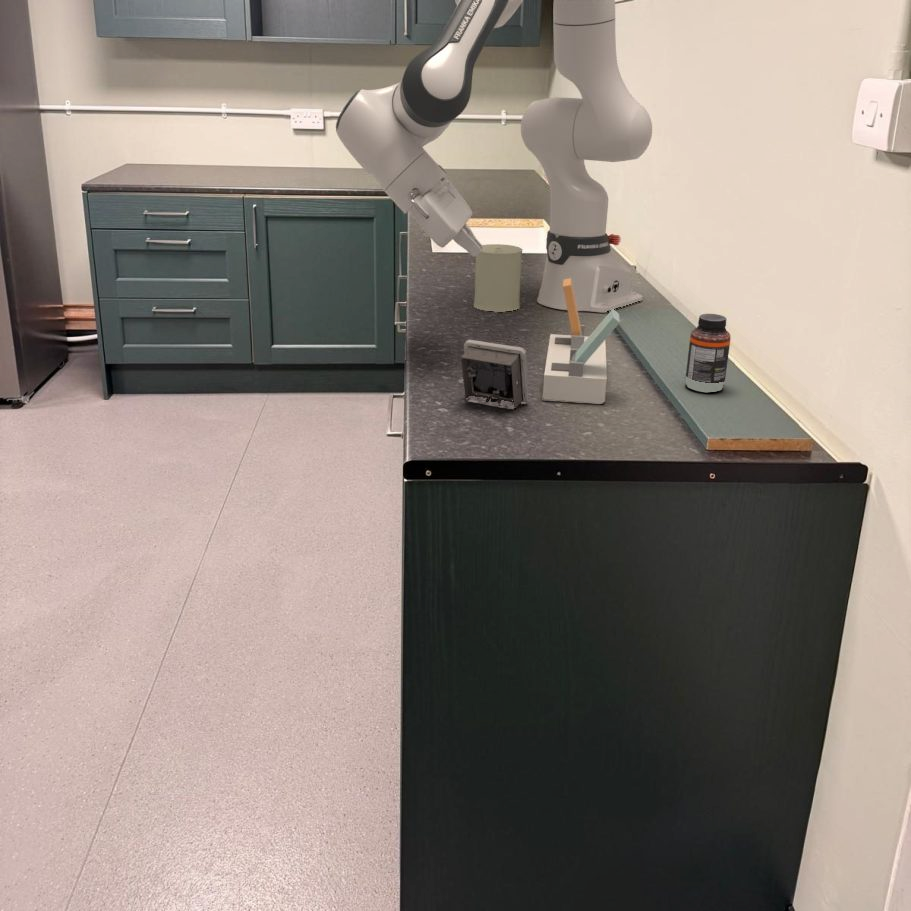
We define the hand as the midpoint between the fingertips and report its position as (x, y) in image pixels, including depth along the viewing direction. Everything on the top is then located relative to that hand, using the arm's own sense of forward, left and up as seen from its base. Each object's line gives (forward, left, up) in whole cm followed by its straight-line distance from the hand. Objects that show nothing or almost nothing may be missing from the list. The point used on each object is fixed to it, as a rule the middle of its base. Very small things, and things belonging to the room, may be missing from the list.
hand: (478, 252), depth 153 cm
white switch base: (-9, +15, -18) cm, 24 cm away
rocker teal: (-2, +22, -13) cm, 25 cm away
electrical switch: (+11, +18, -18) cm, 28 cm away
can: (-26, -25, -18) cm, 40 cm away
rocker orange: (-12, +12, -13) cm, 21 cm away
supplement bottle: (-21, +31, -18) cm, 41 cm away
